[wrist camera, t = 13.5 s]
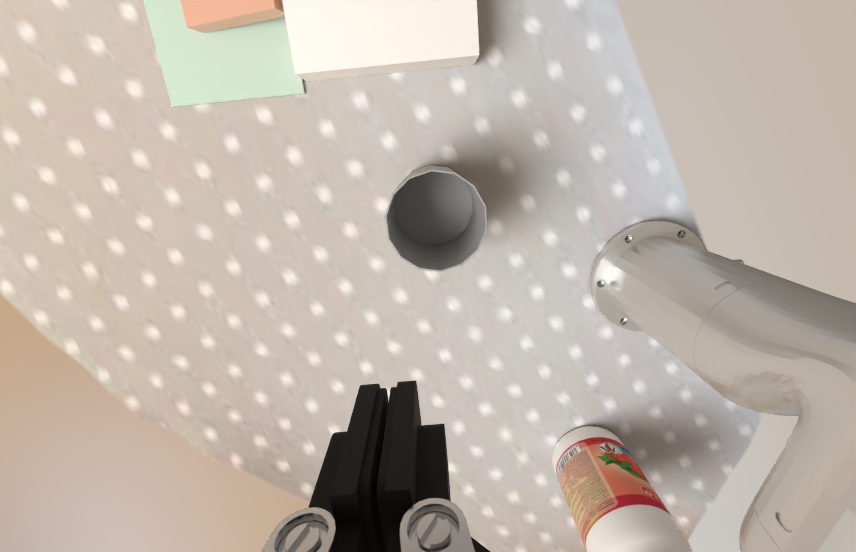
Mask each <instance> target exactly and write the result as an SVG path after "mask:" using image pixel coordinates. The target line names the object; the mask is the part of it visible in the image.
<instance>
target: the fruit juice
mask: <svg viewBox="0 0 856 552" xmlns="http://www.w3.org/2000/svg"><path fill="white" fill-rule="evenodd" d="M552 463H553V468H554V472H555V474H556V477H557V479H558V482H559V484H560V487H561V489H562V492H563V494H564V497H565V499H566V502H567V504H568V507H569V509H570V512H571V514H572V517H573V519H574V521H575V524H576V526H577V529H578V531H579V534H580V536H581V539H582V541H583V544H584V546H585V549H586V552H692V549H691V547H690V545H689V543H688V541H687V539H686V538H685V536H684V534H683V533H682V531H681V529H680V528H679V526H678V524H677V523H676V521H675V520H674V519H673V517H672V516H671V514H670V513H669V511H668V510H667V508H666V507H665V505H664V504H663V502H662V501H661V500H660V498H659V497H658V495H657V494H656V492H655V491H654V489H653V488H652V486H651V485H650V483H649V482H648V480H647V479H646V477H645V476H644V474H643V473H642V471H641V470H640V468H639V467H638V465H637V464H636V462H635V461H634V459H633V458H632V456H631V455H630V453H629V452H628V450H627V449H626V447H625V446H624V444H623V443H622V442H621V440H620V439H619V438H618V437H617V436H616V435H615V434H613V433H612V432H611V431H609V430H607V429H604V428H601V427H597V426H585V427H580V428H577V429H574V430H572V431H570V432H568V433H567V434H565V435H564V436H563V437H562V438H561V439H560V440H559V441H558V442H557V444H556V446H555V448H554V450H553V454H552Z"/></svg>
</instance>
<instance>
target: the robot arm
mask: <svg viewBox="0 0 856 552" xmlns="http://www.w3.org/2000/svg"><path fill="white" fill-rule="evenodd" d="M626 236H627V238H626V239H625V237H626ZM598 281H600V282H599V283H598ZM591 293H592V296H593V299H594V302H595V304H596V306H597V307H598V309H599V311H600V312H601V313H602V314H603V315H604V316H605V317H606V318H607V319H609V320H610V321H611V322H612V323H614V324H615V325H617V326H619V327H621V328H625V329H628V330H633V331H645V332H646V333H647V334H649V335H650V336H651V337H652V338H653V339H655V340H656V341H657V342H658V343H659V344H661V345H662V346H663V347H664V348H665V349H667V350H668V351H669V352H670V353H671V354H673V355H674V356H675V357H676V358H678V359H679V360H680V361H681V362H682V363H684V364H685V365H686V366H687V367H688V368H690V369H691V370H692V371H693V372H694V373H696V374H697V375H698V376H699V377H700V378H702V379H703V380H704V381H705V382H706V383H708V384H709V385H710V386H711V387H713V388H714V389H715V390H716V391H717V392H719V393H720V394H721V395H723V396H724V397H726V398H727V399H729V400H730V401H732V402H734V403H736V404H738V405H740V406H742V407H745V408H748V409H751V410H754V411H757V412H762V413H768V414H774V415H787V416H799V418H798V422H797V424H796V426H795V427H794V429H793V431H792V433H791V435H790V437H789V439H788V440H787V443H786V444H787V445H786V446H785V448H784V450H783V451H782V453H781V455H780V457H779V458H778V460H777V461H776V463H775V465H774V466H773V468H772V470H771V471H770V473H769V475H768V476H767V478H766V480H765V481H764V483H763V484H762V486H761V488H760V490H759V491H758V493H757V495H756V496H755V498H754V500H753V502H752V504H751V505H750V507H749V509H748V511H747V513H746V515H745V517H744V519H743V522H742V525H741V529H740V536H739V541H740V550H741V552H856V303H853V302H850V301H846V300H843V299H840V298H837V297H834V296H831V295H828V294H825V293H823V292H820V291H817V290H814V289H811V288H808V287H806V286H803V285H800V284H797V283H794V282H792V281H789V280H786V279H783V278H780V277H778V276H775V275H772V274H769V273H767V272H764V271H761V270H758V269H755V268H753V267H750V266H747V265H745V264H744V262H743V261H742V260H730V259H728V258H725V257H722V256H719V255H717V254H714V253H711V252H708V251H707V250H706V248H705V246H704V244H703V242H702V241H701V240H700V239H699V237H698V236H697V235H696V234H695V233H693V232H692V231H691V230H689V229H688V228H686V227H683V226H681V225H679V224H675V223H672V222H667V221H647V222H643V223H639V224H636V225H633V226H631V227H629V228H627V229H625V230H623V231H622V232H620V233H619V234H617V235H616V236H615V237H613V238H612V239H611V240H610V241H609V242H608V243H607V244H606V245H605V247H604V248H603V250H602V251H601V252H600V254H599V255H598V258H597V260H596V262H595V264H594V267H593V270H592V274H591ZM262 552H490V551H489V550H487V549H486V548H485V547H483V546H482V545H481V544H480V543H478V542H477V541H476V540H474V539H473V538H472V537H471V536H470V532H469V529H468V525H467V521H466V518H465V516H464V514H463V512H462V510H461V509H460V508H459V507H458V506H457V505H456V504H454V503H452V502H451V499H450V485H449V471H448V459H447V448H446V437H445V427H444V424H436V425H423V426H422V425H421V417H420V408H419V400H418V391H417V383H416V381H405V382H398V384H397V387H392V388H391V391H390V398H389V402H388V395H387V390H386V388H380V385H379V384H369V385H361V386H360V388H359V391H358V395H357V398H356V402H355V405H354V409H353V413H352V416H351V420H350V423H349V427H348V431H347V432H337V433H334V434H333V435H332V438H331V440H330V443H329V446H328V450H327V453H326V456H325V459H324V462H323V465H322V468H321V471H320V474H319V477H318V480H317V483H316V486H315V489H314V492H313V495H312V498H311V501H310V505H309V508H305V509H302V510H299V511H296V512H294V513H293V514H291V515H289V516H287V517H286V518H285V519H284V520H282V521H281V522H280V523H279V524H278V525H277V526H276V528H275V529H274V531H273V532H272V533H271V535H270V537H269V539H268V540H267V542H266V544H265V546H264V548H263V549H262Z"/></svg>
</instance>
